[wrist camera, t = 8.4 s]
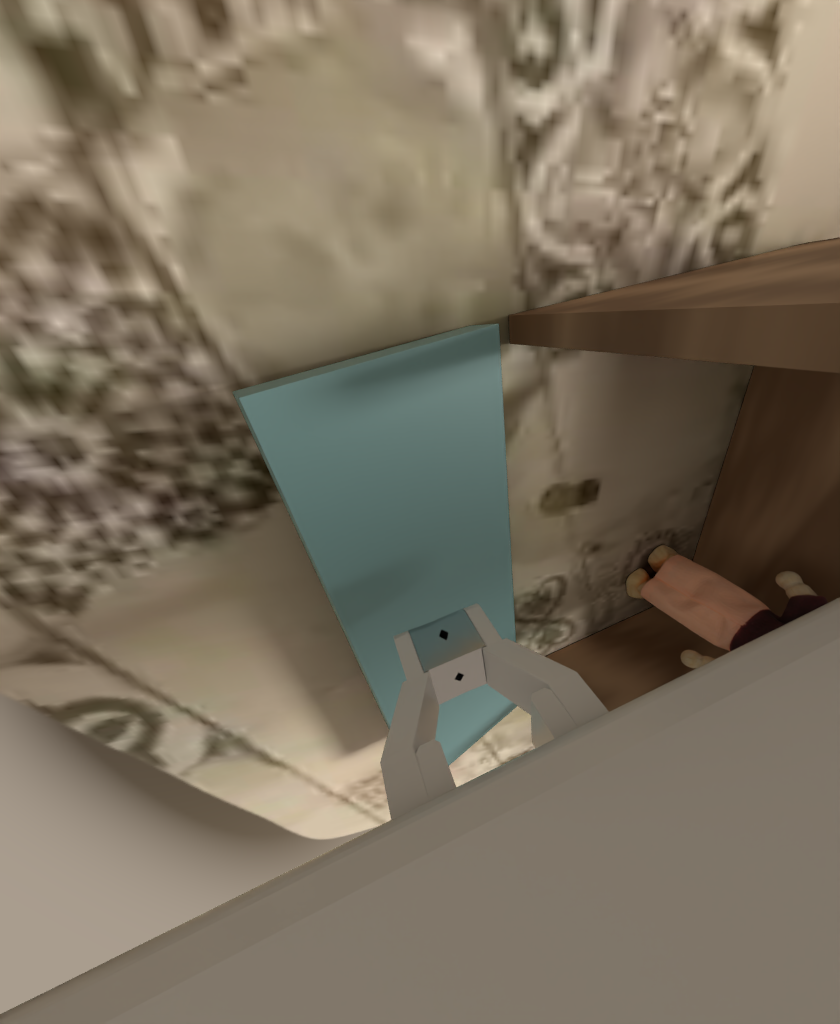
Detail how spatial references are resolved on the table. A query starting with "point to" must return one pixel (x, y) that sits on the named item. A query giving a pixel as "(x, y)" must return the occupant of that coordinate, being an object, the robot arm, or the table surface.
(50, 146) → the table surface
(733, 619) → the grandmother figurine
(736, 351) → the crate
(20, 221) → the table surface
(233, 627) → the table surface
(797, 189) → the table surface
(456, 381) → the panel
